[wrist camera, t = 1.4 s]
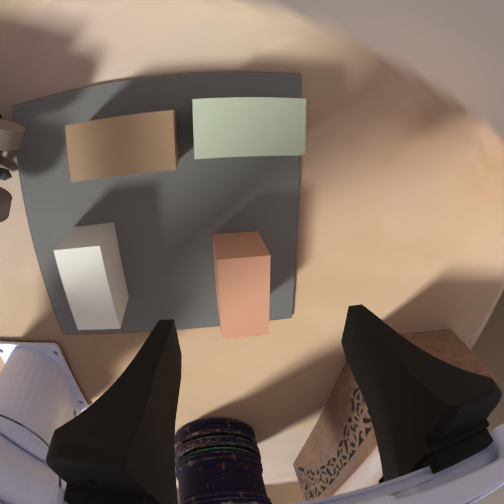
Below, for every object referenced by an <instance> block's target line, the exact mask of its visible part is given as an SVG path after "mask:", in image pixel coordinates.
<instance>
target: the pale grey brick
mask: <svg viewBox="0 0 504 504" xmlns="http://www.w3.org/2000/svg"><path fill="white" fill-rule="evenodd" d="M53 251H54V255H55V258H56V262H57V266H58V269H59V273H60V276H61V280H62V283H63V286H64V290H65V293H66V296H67V299H68V302H69V305H70V308H71V311H72V314H73V317H74V320H75V323H76V325H77V328H78V330H98V329H120V328H121V324H122V320H123V316H124V313H125V309H126V305H127V302H128V298H129V295H128V290H127V286H126V281H125V277H124V272H123V267H122V262H121V257H120V252H119V246H118V241H117V235H116V229H115V223H104V224H95V225H86V226H77V227H73V228H72V229H71V231H70V232H69V233H68V234H67V235H66V236H65V237H64V239H63V240H62V241H61V242H60V243H59V244H58V245H57V247H56V248H55V249H54V250H53Z"/></svg>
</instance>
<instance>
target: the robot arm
mask: <svg viewBox="0 0 504 504" xmlns="http://www.w3.org/2000/svg"><path fill="white" fill-rule="evenodd" d="M341 342H342V346H343V349H344V353H345V356H346V359H347V362H348V364H349V367H350V369H351V371H352V374H353V376H354V378H355V380H356V382H357V385H358V387H359V389H360V391H361V394H362V396H363V398H364V400H365V403H366V406H367V408H368V411H369V415H370V418H371V422H372V425H373V429H374V433H375V437H376V441H377V445H378V450H379V455H380V460H381V466H382V473H383V480H384V482H382V483H379V484H376V485H373V486H369V487H366V488H362V489H358V490H355V491H351V492H347V493H343V494H338V495H334V496H329V497H325V498H320V499H315V500H309V501H303V502H298V503H291V504H474V503H475V502H477V501H479V500H480V499H482V498H484V497H485V496H487V495H488V494H490V493H491V492H493V491H494V490H496V489H498V488H499V487H500V486H502V485H503V484H504V423H503V424H501V425H500V426H498V427H496V428H495V429H493V430H492V431H491V432H490V433H489V432H488V430H487V427H488V426H489V423H488V421H487V419H486V418H487V417H488V416H489V414H490V413H491V412H492V411H493V410H494V408H495V407H496V406H497V404H498V402H499V401H500V399H501V396H502V391H501V390H500V388H499V387H498V386H497V384H496V383H495V381H494V380H493V378H491V377H487V376H483V375H479V374H476V373H472V372H469V371H466V370H464V369H461V368H458V367H456V366H453V365H451V364H449V363H447V362H444V361H442V360H440V359H438V358H436V357H434V356H432V355H431V354H429V353H427V352H426V351H424V350H422V349H420V348H419V347H417V346H416V345H414V344H413V343H411V342H410V341H408V340H407V339H405V338H404V337H403V336H401V335H400V334H399V333H397V332H396V331H395V330H393V329H392V328H391V327H390V326H388V325H387V324H386V323H384V322H383V321H382V320H381V319H380V318H378V317H377V316H376V315H375V314H373V313H372V312H371V311H370V310H368V309H367V308H366V307H364V306H363V305H355V306H349V308H348V313H347V318H346V323H345V327H344V332H343V336H342V341H341ZM55 351H56V352H55ZM57 352H58V353H57ZM0 355H1V357H2V359H3V361H4V362H5V365H4V367H3V369H2V371H1V373H0V503H2V504H178V500H177V489H176V472H175V420H176V412H177V404H178V396H179V389H180V381H181V350H180V346H179V341H178V336H177V332H176V327H175V322H174V319H167V320H159V321H158V322H157V323H156V325H155V327H154V328H153V330H152V332H151V333H150V335H149V337H148V338H147V340H146V341H145V343H144V345H143V346H142V348H141V349H140V350H139V352H138V353H137V355H136V356H135V358H134V359H133V360H132V362H131V363H130V364H129V366H128V367H127V368H126V370H125V371H124V372H123V373H122V375H121V376H120V377H119V378H118V379H117V380H116V382H115V383H114V384H113V385H112V386H111V387H110V388H109V389H108V390H107V391H106V392H105V393H104V394H103V395H102V396H101V397H100V398H99V399H98V400H96V401H95V402H94V403H93V404H92V405H91V406H89V405H88V404H87V402H86V400H85V398H84V396H83V394H82V392H81V391H80V389H79V387H78V385H77V383H76V381H75V379H74V377H73V375H72V373H71V371H70V369H69V367H68V364H67V362H66V360H65V358H64V356H63V354H62V351H61V349H60V347H59V345H58V344H56V343H38V342H6V341H0ZM81 410H84V411H83V412H82V413H80V412H81Z"/></svg>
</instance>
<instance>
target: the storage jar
mask: <svg viewBox="0 0 504 504" xmlns="http://www.w3.org/2000/svg"><path fill="white" fill-rule="evenodd" d="M175 467H176V478H177V480H178V483H179V496H180V504H272V503H271V501H270V499H269V498H268V497H267V494H266V490H265V486H264V482H263V477H262V472H263V469H262V464H261V456H260V452H259V448H258V446H257V443H256V441H255V434H254V431H253V429H252V428H251V427H250V426H249V425H248V424H246V423H244V422H242V421H239V420H236V419H232V418H221V417H216V418H205V419H200V420H196V421H193V422H190V423H188V424H186V425H184V426H182V427H181V428H180V429H179V430H178V431H177V432H176V434H175Z"/></svg>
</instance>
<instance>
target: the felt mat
mask: <svg viewBox="0 0 504 504" xmlns="http://www.w3.org/2000/svg"><path fill="white" fill-rule="evenodd" d="M230 97H275V98H301V74H292V73H272V72H211V73H191V74H177V75H166V76H156V77H147V78H139V79H131V80H124V81H118V82H112V83H106V84H100V85H95V86H90V87H85V88H80V89H75V90H71V91H66V92H62V93H58V94H54V95H50V96H46V97H42V98H39V99H35V100H32V101H28V102H25V103H22V104H18V105H15V106H13V121H14V122H15V123H17V124H20V125H22V126H23V127H24V128H25V129H26V130H25V133H24V136H23V139H22V143H21V146H20V149H19V150H17V151H16V154H17V162H18V169H19V176H20V183H21V189H22V194H23V200H24V205H25V210H26V215H27V219H28V224H29V228H30V232H31V237H32V241H33V245H34V248H35V252H36V256H37V259H38V263H39V266H40V270H41V273H42V276H43V280H44V283H45V286H46V289H47V292H48V295H49V298H50V301H51V304H52V306H53V309H54V312H55V315H56V317H57V320H58V323H59V325H60V328H61V330H62V333H63V334H104V333H129V332H148V331H152V330H153V328H154V327H155V325H156V323H157V322H158V321H159V320H167V319H174V322H175V327H176V330H178V329H191V328H203V327H215V326H220V319H219V313H218V306H217V293H216V280H215V265H214V250H213V234H225V233H238V232H252V231H258V232H259V234H260V236H261V238H262V240H263V242H264V244H265V246H266V247H267V249H268V251H269V253H270V255H271V260H270V305H269V321H271V320H279V319H287V318H292V307H293V293H294V278H295V261H296V243H297V223H298V199H299V169H300V156H246V157H223V158H206V159H194V135H193V104H192V99H204V98H230ZM167 110H177V118H178V141H179V162H178V165H177V169H176V170H170V171H159V172H149V173H140V174H131V175H122V176H114V177H106V178H99V179H91V180H84V181H78V182H71V177H70V169H69V161H68V152H67V142H66V130H65V126H66V125H71V124H76V123H81V122H87V121H92V120H98V119H104V118H110V117H117V116H124V115H131V114H139V113H148V112H157V111H167ZM104 223H115V229H116V235H117V241H118V246H119V252H120V257H121V262H122V267H123V272H124V277H125V281H126V286H127V290H128V295H129V298H128V302H127V305H126V309H125V313H124V316H123V320H122V324H121V328H120V329H98V330H78V328H77V325H76V323H75V320H74V317H73V314H72V311H71V308H70V305H69V302H68V299H67V296H66V293H65V290H64V286H63V283H62V280H61V276H60V273H59V269H58V266H57V262H56V258H55V255H54V251H53V250H54V249H55V248H56V247H57V245H58V244H59V243H60V242H61V241H62V240H63V239H64V237H65V236H66V235H67V234H68V233H69V232H70V231H71V229H72V228H73V227H77V226H86V225H95V224H104Z"/></svg>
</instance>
